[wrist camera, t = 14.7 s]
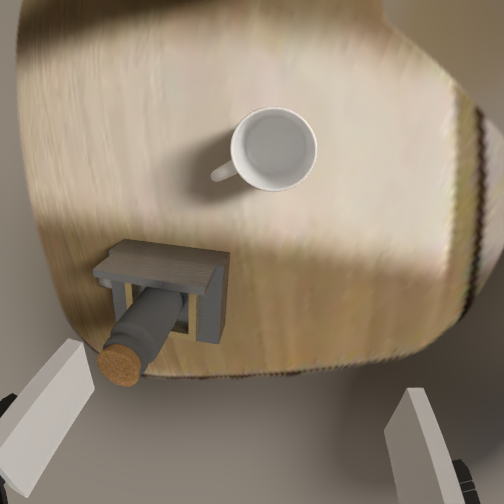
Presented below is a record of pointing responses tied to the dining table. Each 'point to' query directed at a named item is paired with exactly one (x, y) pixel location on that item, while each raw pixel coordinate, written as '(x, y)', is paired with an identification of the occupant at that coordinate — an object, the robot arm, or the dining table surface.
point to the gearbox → (171, 283)
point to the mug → (270, 150)
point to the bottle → (139, 335)
